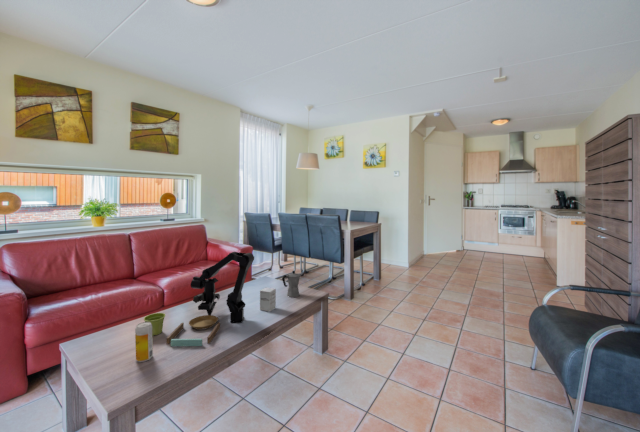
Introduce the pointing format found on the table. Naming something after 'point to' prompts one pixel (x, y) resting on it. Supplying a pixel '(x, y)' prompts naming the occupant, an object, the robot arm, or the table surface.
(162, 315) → the plant pot
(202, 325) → the plant saucer
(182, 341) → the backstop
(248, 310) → the table surface
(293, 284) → the coffeepot
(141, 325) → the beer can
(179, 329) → the lane walls
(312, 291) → the table surface
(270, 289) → the supplement box
